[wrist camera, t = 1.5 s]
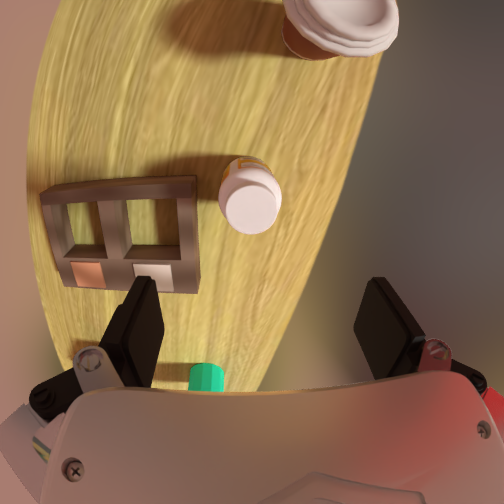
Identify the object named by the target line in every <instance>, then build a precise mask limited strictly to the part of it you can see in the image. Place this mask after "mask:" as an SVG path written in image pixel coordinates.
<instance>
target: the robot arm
mask: <svg viewBox="0 0 504 504" xmlns="http://www.w3.org/2000/svg"><path fill="white" fill-rule="evenodd" d="M354 332H355V335H356V337H357V339H358V341H359V343H360V346H361V348H362V351H363V352H364V355H365V357H366V360H367V362H368V364H369V367H370V369H371V372H372V374H373V376H374V379H375V380H373V381H367V382H362V383H354V384H348V385H340V386H332V387H323V388H313V389H302V390H287V391H267V392H207V391H186V390H170V389H158V388H151V384H152V379H153V375H154V371H155V367H156V363H157V359H158V355H159V351H160V347H161V343H162V340H163V336H164V322H163V318H162V313H161V308H160V303H159V297H158V292H157V286H156V281H155V280H154V279H152V278H151V276H140V275H138V276H137V277H136V279H135V281H134V282H133V284H132V286H131V288H130V290H129V292H128V294H127V296H126V298H125V300H124V302H123V304H120V305H118V307H117V308H116V310H115V312H114V314H113V316H112V318H111V320H110V322H109V325H108V327H107V329H106V331H105V333H104V335H103V337H102V339H101V341H100V344H99V346H88V347H84V348H83V349H81V350H79V351H78V352H77V353H76V355H75V356H74V358H73V368H71V369H69V370H67V371H65V372H63V373H61V374H59V375H57V376H55V377H53V378H51V379H49V380H47V381H45V382H42V383H41V384H38V385H37V386H36V387H35V388H33V390H32V391H31V393H30V396H29V403H28V404H27V405H25V404H23V405H21V406H20V407H19V408H18V409H17V410H16V411H15V412H14V413H13V414H11V415H10V416H9V417H8V418H7V419H6V420H5V421H4V422H3V423H2V424H1V425H0V451H1V452H2V454H3V456H4V457H5V459H6V460H7V462H8V463H9V465H10V466H11V468H12V469H13V471H14V472H15V474H16V475H17V477H18V478H19V479H20V481H21V482H22V484H23V485H24V486H25V487H26V489H27V490H28V491H29V493H30V494H31V495H32V496H33V498H34V499H35V500H36V501H37V502H38V503H39V504H504V397H503V396H502V395H500V394H499V393H498V392H497V391H495V390H494V389H493V388H491V387H489V388H487V382H486V379H485V377H484V376H483V375H482V374H481V373H480V372H478V371H477V370H475V369H472V368H470V367H468V366H466V365H464V364H462V363H459V362H457V361H455V360H453V359H452V352H451V349H450V347H449V346H448V345H447V344H446V343H445V342H443V341H441V340H438V339H429V340H428V341H426V340H425V339H424V338H425V336H426V335H425V333H424V332H423V330H422V329H421V327H420V326H419V324H418V323H417V321H416V320H415V319H414V317H413V315H412V314H411V313H410V311H409V310H408V309H407V307H406V305H405V304H404V303H403V301H402V300H401V299H400V297H399V296H398V295H397V293H396V292H395V290H394V289H393V288H392V286H391V285H390V283H389V282H388V281H387V280H386V278H385V277H373V278H372V279H371V280H370V281H368V283H367V286H366V289H365V292H364V296H363V299H362V302H361V305H360V308H359V311H358V314H357V317H356V321H355V323H354Z"/></svg>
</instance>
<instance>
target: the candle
mask: <svg viewBox="0 0 504 504" xmlns="http://www.w3.org/2000/svg"><path fill="white" fill-rule="evenodd" d="M188 391H207V392H224V372H223V370H222V369H221V368H220V367H218V366H216V365H214V364H209V363H200V364H196V365H194V366H193V367H192V368H191V371H190V378H189V387H188Z"/></svg>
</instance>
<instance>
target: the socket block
mask: <svg viewBox="0 0 504 504" xmlns="http://www.w3.org/2000/svg"><path fill="white" fill-rule="evenodd" d="M172 198H177V213H178V227H179V239H180V245H132V239H131V232H130V226H129V219H128V211H127V203H126V200H136V199H172ZM40 200H41V205H42V210H43V215H44V219H45V223H46V228H47V232H48V236H49V239H50V243H51V247H52V250H53V254H54V257H55V260H56V264H57V267H58V270H59V273H60V276H61V279H62V282H63V285H64V286H66V287H78V288H90V289H104V290H120V291H129V290H130V288H131V286H132V284H133V282H134V281H135V279H136V277H137V276H138V275H140V276H151V278H152V279H154V280H155V281H156V286H157V292H159V293H186V294H198V289H199V284H200V278H201V274H200V258H199V240H198V218H197V187H196V175H182V176H153V177H134V178H119V179H106V180H95V181H85V182H76V183H67V184H59V185H54V186H52V187H50V188H49V189H47V190H45V191H43V192H42V193H40ZM95 201H97V203H98V209H99V215H100V221H101V227H102V232H103V237H104V242H105V245H75V242H74V238H73V234H72V229H71V225H70V220H69V215H68V210H67V205H66V204H67V203H80V202H95Z"/></svg>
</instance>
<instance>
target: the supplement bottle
mask: <svg viewBox="0 0 504 504" xmlns="http://www.w3.org/2000/svg"><path fill="white" fill-rule="evenodd" d="M218 199H219V206H220V209H221V211H222V213H223V215H224V216H225V218H226V219H227V220H228V222H229V224H230V225H231V226H232V227H233V228H234V229H235V230H237V231H239V232H241V233H244V234H258V233H261V232H263V231H265V230H267V229H268V228H269V227H270V226H271V225H272V224H273V223H274V221H275V219H276V217H277V213H278V211H279V209H280V206H281V200H282V197H281V190H280V187H279V185H278V183H277V181H276V179H275V178H274V176H273V174H272V172H271V170H270V169H269V167H268V166H267V165H266V164H265V163H264V162H263V161H262V160H260V159H258V158H255V157H250V156H245V157H240V158H237V159H235V160H234V161H232V162H231V163H230V164H229V165H228V166H227V167H226V169H225V171H224V173H223V176H222V181H221V185H220V190H219V197H218Z"/></svg>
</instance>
